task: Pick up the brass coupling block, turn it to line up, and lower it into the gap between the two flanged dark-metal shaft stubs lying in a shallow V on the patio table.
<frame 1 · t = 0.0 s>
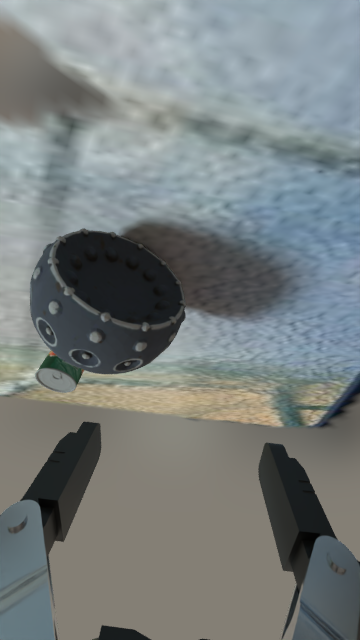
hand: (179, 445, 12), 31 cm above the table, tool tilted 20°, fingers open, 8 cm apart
dark grey piece: (131, 265, 41), on the table
canned tomato: (78, 340, 55), on the table
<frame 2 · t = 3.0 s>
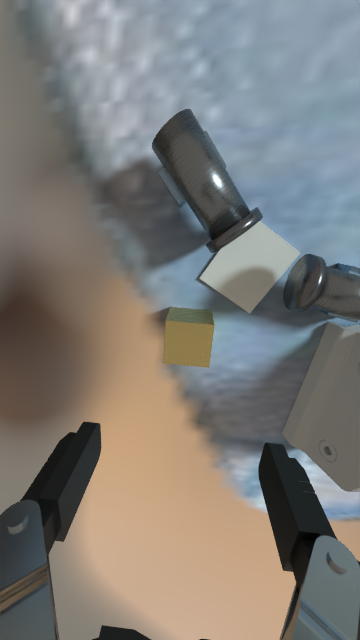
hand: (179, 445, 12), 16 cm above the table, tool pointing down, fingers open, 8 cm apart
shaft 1: (201, 190, 22), on the table
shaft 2: (327, 286, 24), on the table
coupling block: (189, 327, 27), on the table
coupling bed: (248, 265, 24), on the table
hinge: (332, 386, 29), on the table
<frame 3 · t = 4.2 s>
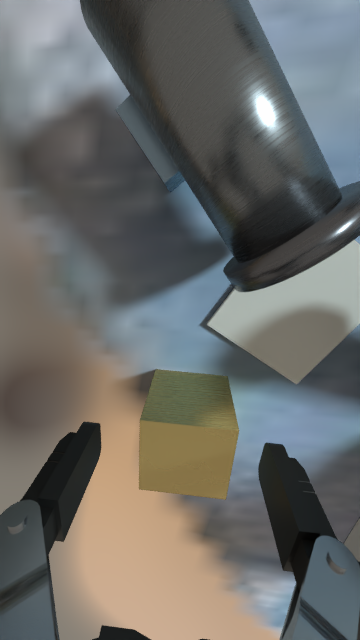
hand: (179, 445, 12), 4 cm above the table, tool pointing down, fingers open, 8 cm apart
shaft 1: (211, 157, 11), on the table
coupling block: (188, 401, 16), on the table
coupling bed: (297, 302, 13), on the table
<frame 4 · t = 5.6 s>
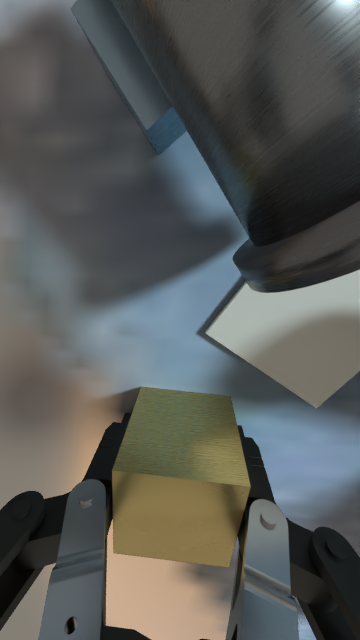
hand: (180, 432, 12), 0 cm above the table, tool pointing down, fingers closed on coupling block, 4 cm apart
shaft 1: (215, 105, 8), on the table
coupling block: (181, 426, 13), on the table, touching gripper
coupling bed: (322, 306, 10), on the table
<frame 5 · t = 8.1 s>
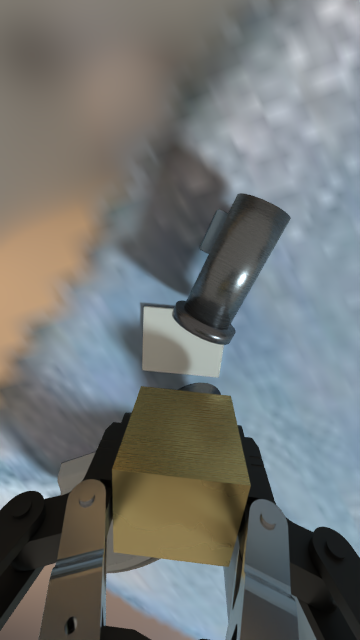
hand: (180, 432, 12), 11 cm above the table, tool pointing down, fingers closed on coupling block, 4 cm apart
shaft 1: (225, 260, 20), on the table
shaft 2: (204, 412, 25), on the table
coupling block: (181, 426, 13), point 11 cm above the table, touching gripper
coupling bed: (183, 342, 23), on the table
hinge: (133, 464, 29), on the table
when the fingers open (2 cm above the table, at t = 10.4 s): coupling block drops 1 cm, resting on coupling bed.
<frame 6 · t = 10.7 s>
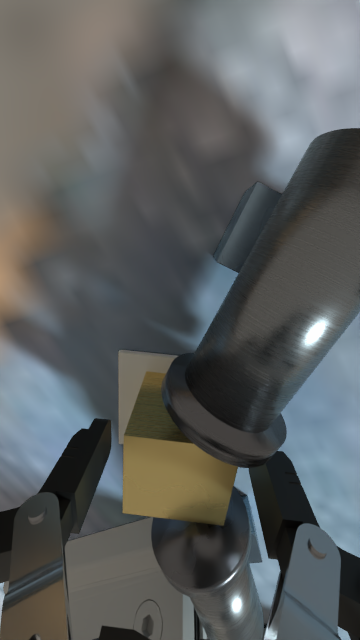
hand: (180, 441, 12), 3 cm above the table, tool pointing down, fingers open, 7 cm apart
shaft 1: (257, 278, 12), on the table
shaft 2: (213, 499, 17), on the table
coupling block: (182, 408, 14), resting on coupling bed
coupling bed: (182, 405, 14), on the table
hinge: (112, 557, 21), on the table, touching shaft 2
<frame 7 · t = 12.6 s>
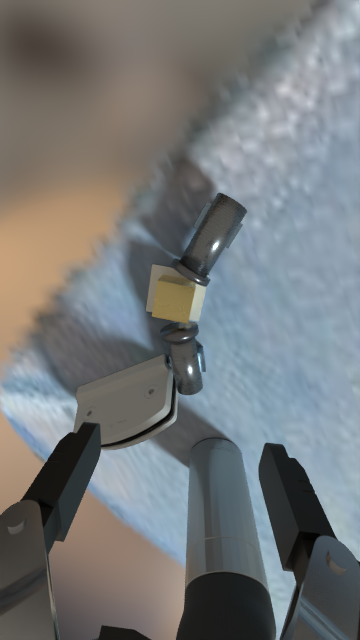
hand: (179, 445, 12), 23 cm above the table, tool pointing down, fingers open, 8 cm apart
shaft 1: (209, 237, 30), on the table
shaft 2: (186, 348, 35), on the table
coupling block: (176, 293, 32), resting on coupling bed
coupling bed: (176, 293, 33), on the table
hinge: (131, 388, 39), on the table
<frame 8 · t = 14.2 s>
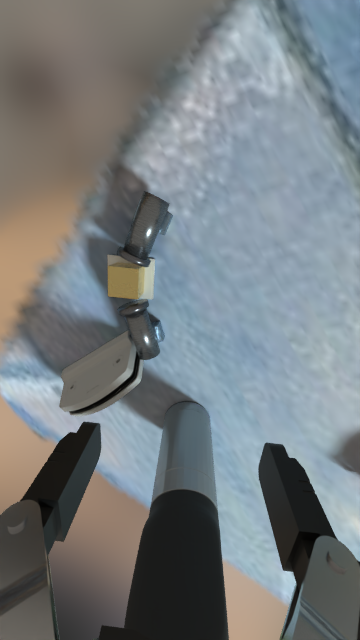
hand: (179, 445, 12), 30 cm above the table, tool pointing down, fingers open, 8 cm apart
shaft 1: (150, 227, 37), on the table
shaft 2: (146, 323, 42), on the table
coupling block: (130, 277, 39), resting on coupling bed
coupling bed: (131, 277, 39), on the table
hinge: (107, 365, 46), on the table
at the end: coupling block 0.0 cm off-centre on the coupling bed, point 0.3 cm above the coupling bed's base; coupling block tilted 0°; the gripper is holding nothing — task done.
